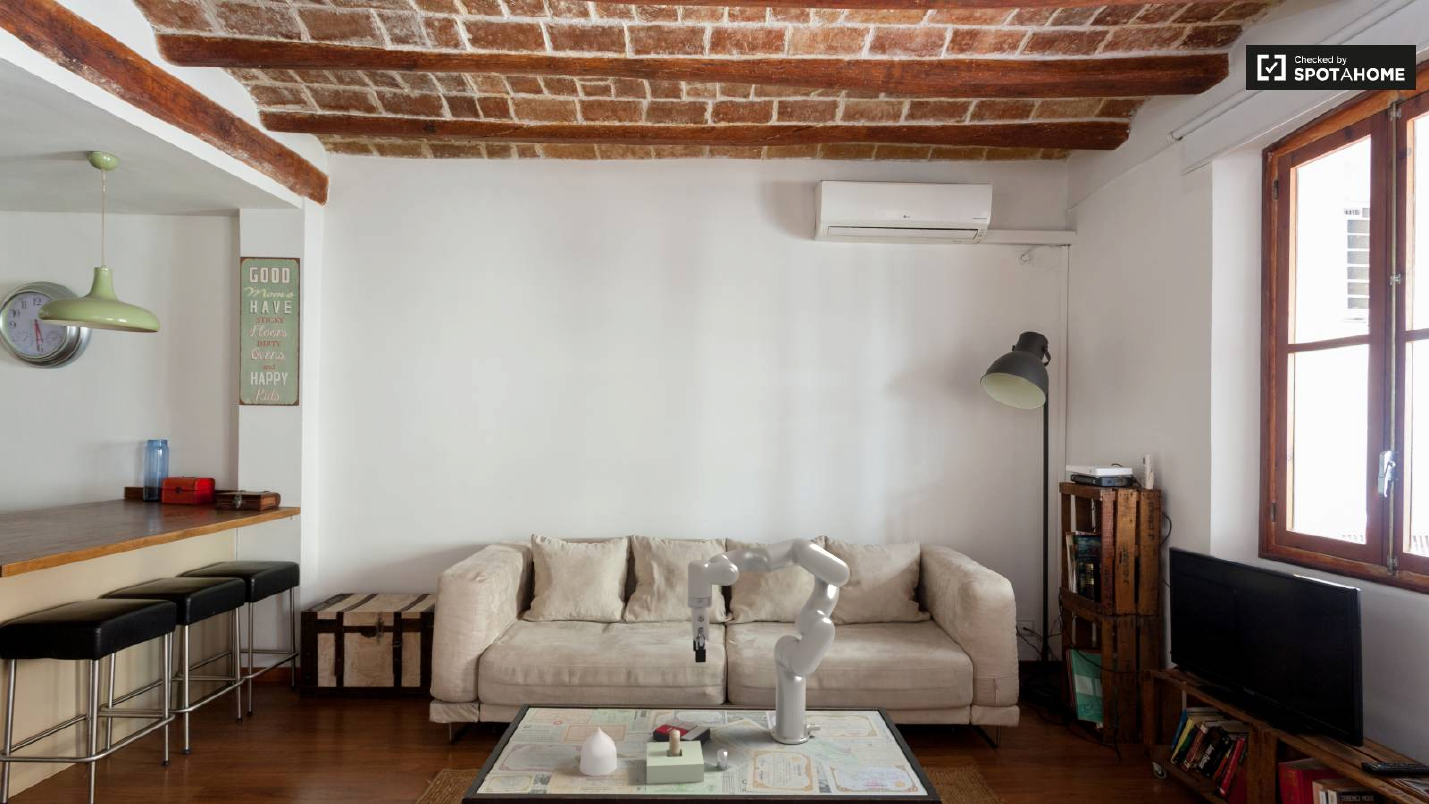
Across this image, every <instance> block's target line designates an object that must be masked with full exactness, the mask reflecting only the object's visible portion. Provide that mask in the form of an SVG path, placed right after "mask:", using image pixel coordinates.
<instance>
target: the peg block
mask: <svg viewBox="0 0 1429 804" xmlns="http://www.w3.org/2000/svg"><path fill="white" fill-rule="evenodd" d="M704 771H705V762H704V757H703V750H702V746H701V743H700V741H681V742H680V757H669V742H657V741H654V742H646V784H647V785H650V784H651V785H652V784H655V785H656V784H675V783H676V784H679V783H702V782H703V783H704V782H705V772H704Z"/></svg>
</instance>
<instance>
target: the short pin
mask: <svg viewBox="0 0 1429 804" xmlns="http://www.w3.org/2000/svg"><path fill="white" fill-rule="evenodd" d="M716 751H717V752H716V753H717V754H716V757H717V758H716V761H717V762H716V763H717V764H716V768H717V770H718V771H719V772H725V771H727V770H728V752H729V751H728V749H726V748H719V749H717V750H716Z"/></svg>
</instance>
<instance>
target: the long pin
mask: <svg viewBox="0 0 1429 804" xmlns="http://www.w3.org/2000/svg"><path fill="white" fill-rule="evenodd" d="M669 757H680V731H678V730H671V731H670V738H669Z"/></svg>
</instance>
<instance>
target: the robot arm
mask: <svg viewBox="0 0 1429 804" xmlns="http://www.w3.org/2000/svg"><path fill="white" fill-rule="evenodd" d="M792 567H800V568H801V569H804V570H806V571H807V572H808V573H809V574H811V575H813V578H814V586H813V590H812V592H811V594H810V595H809V597H808V599H807V601H806V602H805V604H804V605H803V607H802V608H801V610H800V611H799V613H798V614H797V616H796V618H795V620H794V628H795V631H797V633H798V634H800V635H801V638H798V637H796V636H795V635H791V634H787V635H786V634H785V635H784V636H781V637H780V638H778V639H777V641H776V642H775V644H774V650H773V660H774V666H775V725H774V726H773V727H772V728H771V729H770V736H771V738H772V739H773V740H775V741H776V742H778V743H781V744H784V745H785V744H786V745H799V744H800V745H801V744H803V743H805V742H807V741H808V740H810V737H811V731H812V732H813V731H814V732H819V731H821V725H820V723H817V724H815V722H814V721H809V722H808V721H807V720H806V700H807V699H806V695H807V694H806V688H807V686H806V685H807V683H806V681H807V680H806V678H807V677H809V676H810V675H812V674H813V673H814V672H815V670H817V668H818V666H819V665H820V663H821V661H823V659H824V657H825V655H826V654H827V652H828V650H829V649H830V647H831V645H832V643H833V642H834V639H835V636H836V628H835V624H834V621H832V620H831V619H830V617H831V614H832V613H833V610H835V607H836V605H837V603H838V601H839V597H840V587H842V586H845V585H846V584H847V583H848V582H849V580H850V577H851V571H850V567H849V566H848V564H847V563H846V562H845V561H843V560H842V559H840V558H838V557H836V556H834V554H832V553H830V552H828V551H826V550H825V549H824V548H822V547H821V546H819V545H818V544H816V543H814V542H812V541H810V540H808V539H806V538H803V537H795V538H791V539H787V540H782V541H779V542H776V543H772V544H768V545H767V544H766V545H763V546H757V547H756V546H755V547H750V548H740V549H734V550H729V551H726V552H722V553H718V554H715V555H713V556H711V557H710V558H709V560H707V559H694V560H691V561H690V562H689V563H688V565H687V607H688V608H689V609H691V618H690V619H691V620H690V621H691V633H692V637H693V638H692V651H693V652H695V653H694V656H695V657H694V659H695V660H694V661H695V663H700V664H701V663H706V662H707V648H706V641H707V642H709V641H710V609H711V608H712V606H713V585H714V586H722V587H723V586H725V587H726V586H728V587H729V586H731V585H733V584H735V583H736V582H737V580H738V579H739V576H740V573H744V572H752V573H759V574H770V573H775V572H777V571H778V572H779V571H782V570H786V569H789V568H792Z"/></svg>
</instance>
